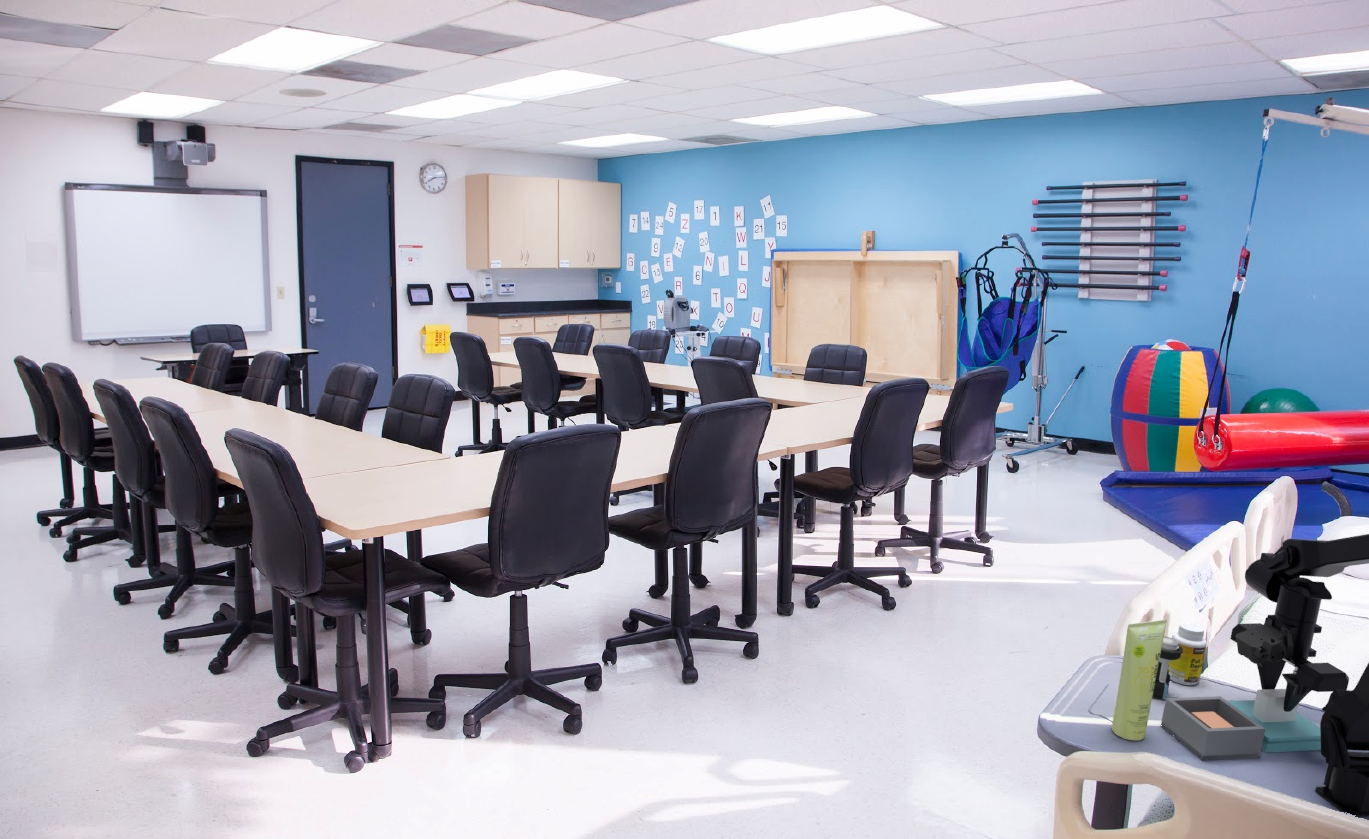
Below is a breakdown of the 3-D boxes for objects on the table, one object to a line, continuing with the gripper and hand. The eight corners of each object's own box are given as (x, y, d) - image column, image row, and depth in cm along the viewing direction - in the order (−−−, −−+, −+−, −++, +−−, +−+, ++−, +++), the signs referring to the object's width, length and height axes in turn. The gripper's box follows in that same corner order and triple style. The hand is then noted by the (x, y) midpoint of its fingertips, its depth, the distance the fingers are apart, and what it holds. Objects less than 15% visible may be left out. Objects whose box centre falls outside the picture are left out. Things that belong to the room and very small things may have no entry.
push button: (1136, 680, 176) (1145, 628, 174) (1168, 685, 175) (1178, 633, 173) (1144, 697, 170) (1153, 644, 168) (1177, 703, 169) (1187, 649, 166)
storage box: (1259, 757, 153) (1265, 728, 152) (1202, 760, 151) (1208, 731, 150) (1214, 723, 162) (1220, 696, 161) (1160, 725, 161) (1165, 698, 160)
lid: (1328, 749, 157) (1337, 709, 155) (1265, 752, 155) (1274, 712, 153) (1274, 712, 168) (1283, 674, 166) (1215, 714, 166) (1223, 676, 164)
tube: (1142, 746, 154) (1164, 631, 150) (1108, 736, 156) (1128, 623, 152) (1146, 731, 159) (1167, 619, 154) (1112, 721, 161) (1132, 610, 157)
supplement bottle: (1188, 689, 174) (1198, 635, 172) (1158, 675, 178) (1168, 623, 176) (1205, 682, 177) (1215, 629, 175) (1175, 669, 182) (1185, 617, 179)
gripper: (1210, 592, 164) (1194, 677, 167) (1297, 642, 146) (1276, 736, 150) (1269, 591, 166) (1251, 675, 169) (1361, 640, 148) (1339, 734, 152)
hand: (1276, 704), depth 160 cm, fingers open, 4 cm apart
